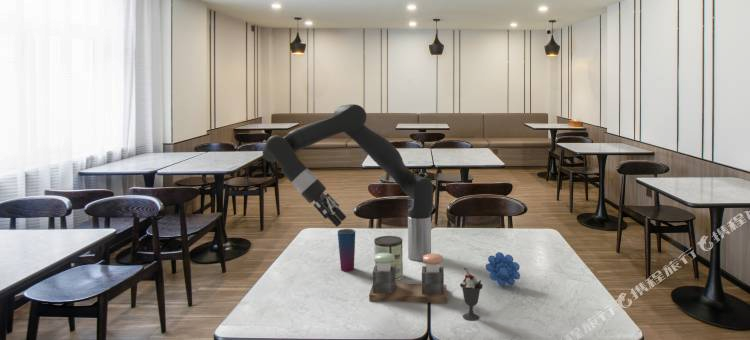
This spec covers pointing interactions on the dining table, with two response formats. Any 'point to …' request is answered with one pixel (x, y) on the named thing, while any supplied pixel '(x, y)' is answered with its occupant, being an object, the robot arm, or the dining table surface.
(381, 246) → the coffee can
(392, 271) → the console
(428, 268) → the button
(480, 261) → the dining table surface
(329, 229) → the dining table surface
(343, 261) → the cup
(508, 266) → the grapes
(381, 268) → the button
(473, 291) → the sundae
